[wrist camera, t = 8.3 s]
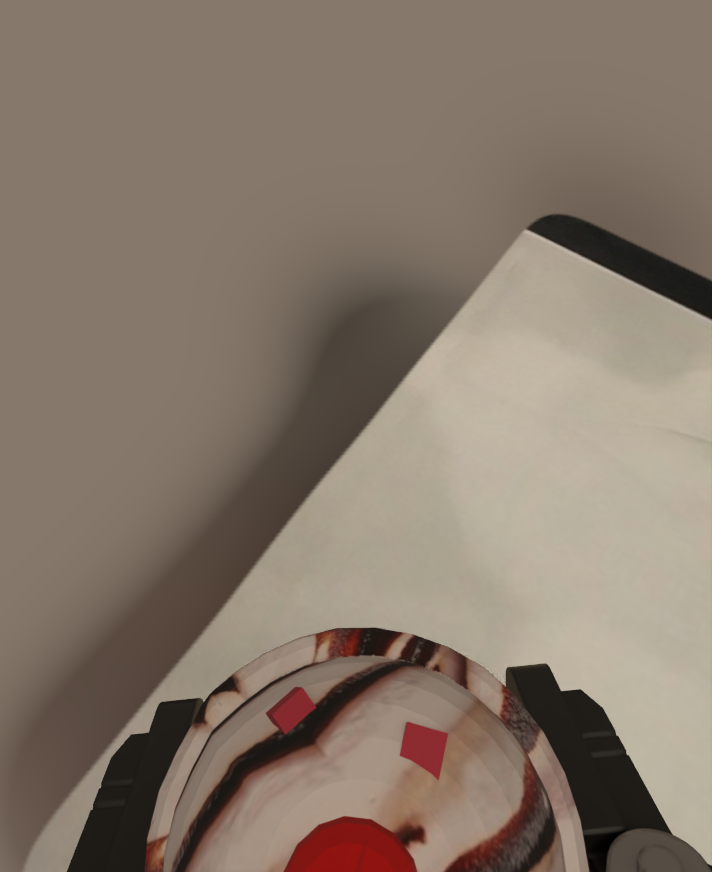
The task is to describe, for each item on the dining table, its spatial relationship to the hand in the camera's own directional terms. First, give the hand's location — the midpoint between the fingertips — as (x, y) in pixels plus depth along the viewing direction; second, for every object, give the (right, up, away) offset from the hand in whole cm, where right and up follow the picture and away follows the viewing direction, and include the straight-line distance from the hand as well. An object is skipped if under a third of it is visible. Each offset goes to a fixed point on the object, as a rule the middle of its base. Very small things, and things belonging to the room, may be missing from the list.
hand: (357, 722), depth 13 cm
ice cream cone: (0, -5, +6) cm, 8 cm away
